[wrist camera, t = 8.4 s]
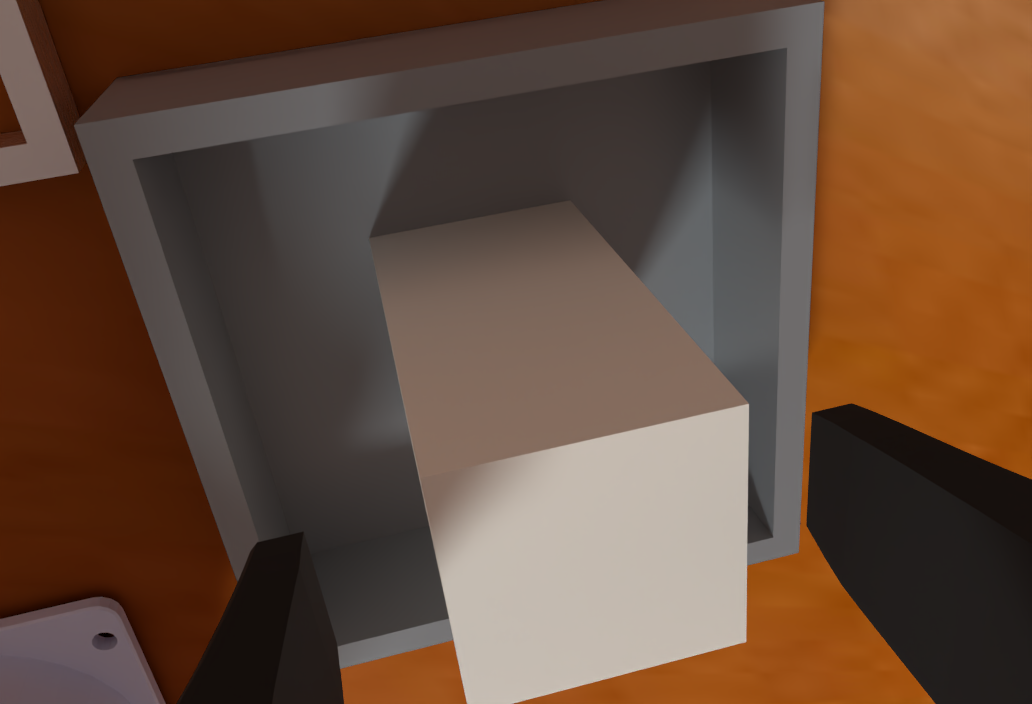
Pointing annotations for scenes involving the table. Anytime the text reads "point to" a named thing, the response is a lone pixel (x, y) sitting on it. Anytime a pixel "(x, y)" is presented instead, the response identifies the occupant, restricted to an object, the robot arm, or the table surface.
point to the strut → (564, 454)
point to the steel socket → (35, 99)
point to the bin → (444, 199)
